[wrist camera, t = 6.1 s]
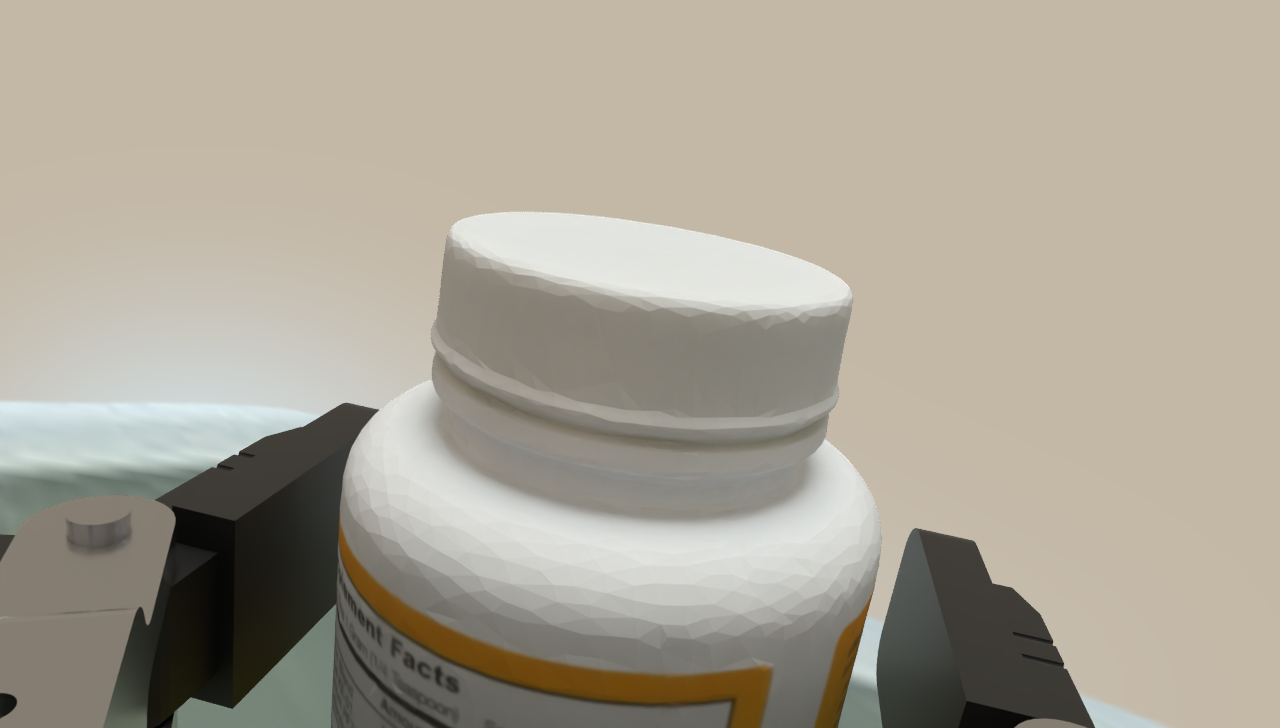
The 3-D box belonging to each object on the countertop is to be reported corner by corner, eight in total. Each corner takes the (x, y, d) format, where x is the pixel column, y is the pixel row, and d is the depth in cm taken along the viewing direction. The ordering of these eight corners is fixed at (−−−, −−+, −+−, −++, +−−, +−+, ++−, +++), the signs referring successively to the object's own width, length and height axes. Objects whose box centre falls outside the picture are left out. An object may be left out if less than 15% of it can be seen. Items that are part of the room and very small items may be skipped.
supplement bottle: (609, 791, 15) (711, 212, 12) (833, 1112, 11) (1080, 328, 8) (269, 915, 12) (292, 179, 9) (386, 1436, 8) (510, 339, 5)
